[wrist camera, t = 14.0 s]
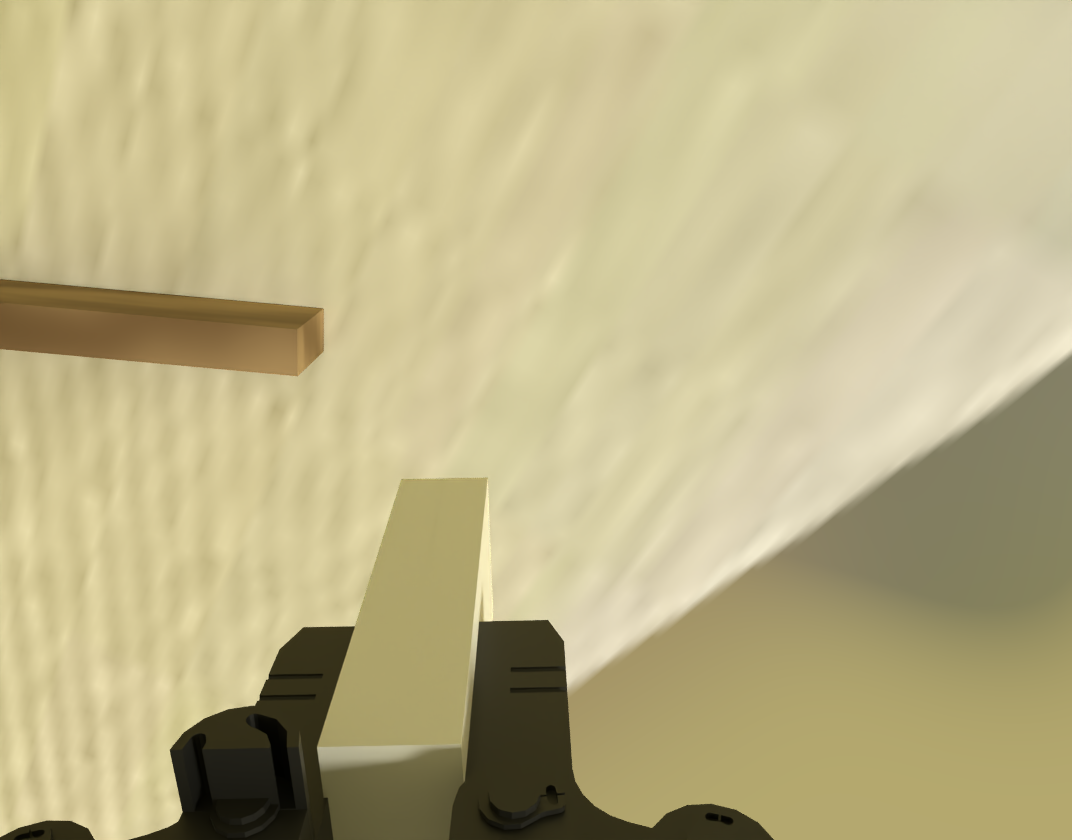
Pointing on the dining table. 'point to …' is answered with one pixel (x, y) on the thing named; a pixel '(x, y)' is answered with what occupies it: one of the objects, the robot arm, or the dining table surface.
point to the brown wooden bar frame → (159, 328)
